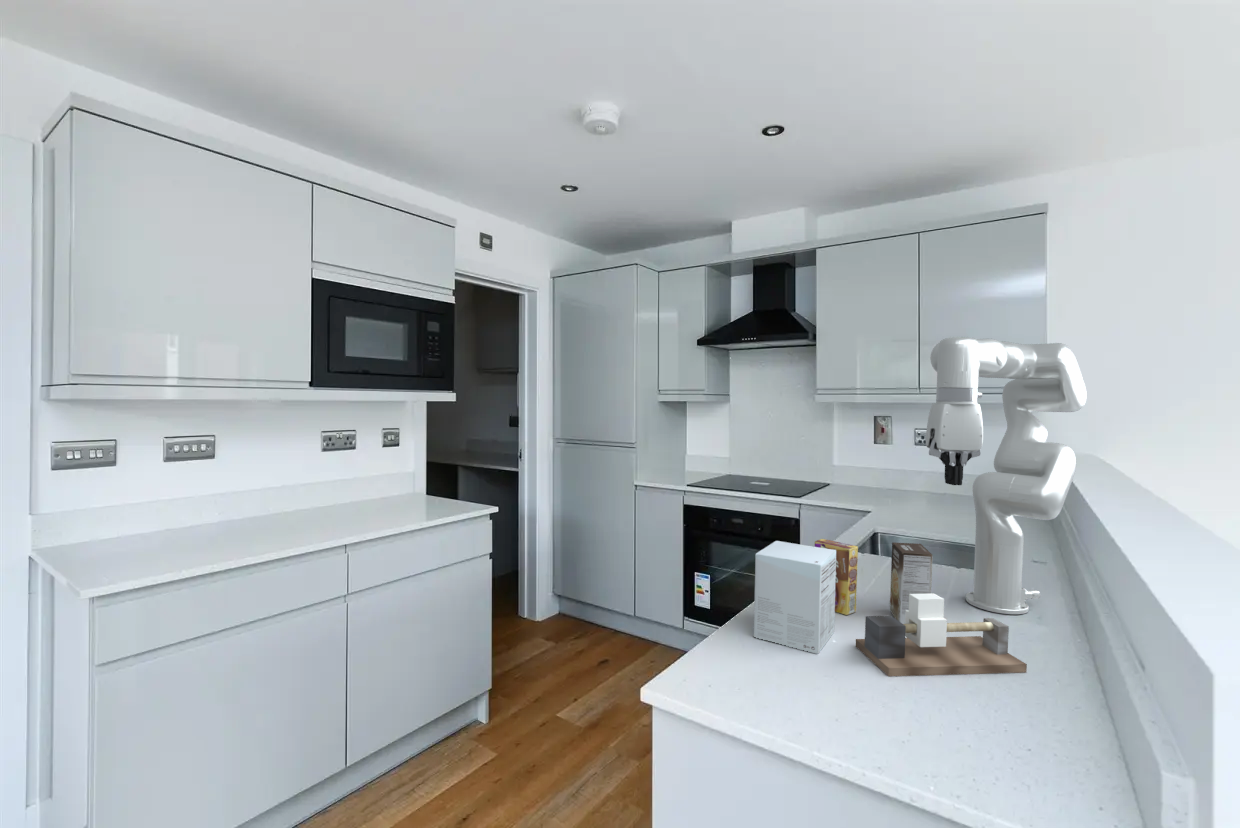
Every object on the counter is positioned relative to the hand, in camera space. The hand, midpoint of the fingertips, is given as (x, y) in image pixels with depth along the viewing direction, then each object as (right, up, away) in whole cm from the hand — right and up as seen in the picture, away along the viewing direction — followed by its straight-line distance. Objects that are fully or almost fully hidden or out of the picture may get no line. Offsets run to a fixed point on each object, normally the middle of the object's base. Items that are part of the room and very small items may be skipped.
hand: (953, 484), depth 122 cm
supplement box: (-34, -31, -3) cm, 46 cm away
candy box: (-20, -31, +13) cm, 39 cm away
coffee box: (-6, -31, +7) cm, 32 cm away
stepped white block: (-13, -28, -13) cm, 33 cm away
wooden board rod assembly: (-10, -32, -13) cm, 35 cm away
